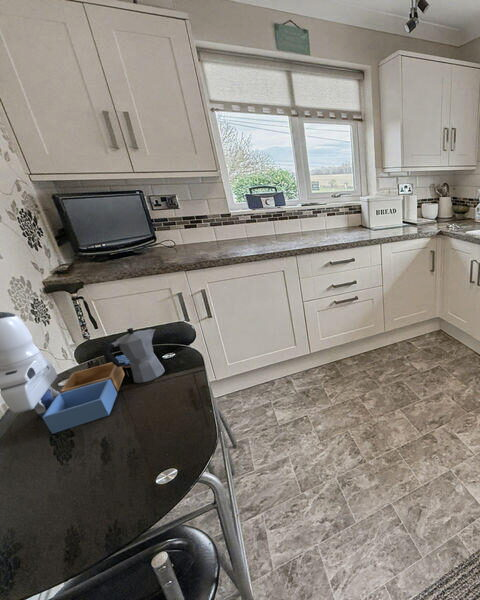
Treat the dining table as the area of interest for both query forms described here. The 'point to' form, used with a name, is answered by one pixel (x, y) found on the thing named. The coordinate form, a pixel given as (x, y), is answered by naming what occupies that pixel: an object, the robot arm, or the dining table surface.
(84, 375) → the oak bin
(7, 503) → the dining table surface
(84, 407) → the blue bin
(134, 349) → the coffeepot
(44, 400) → the blue peg
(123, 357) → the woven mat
